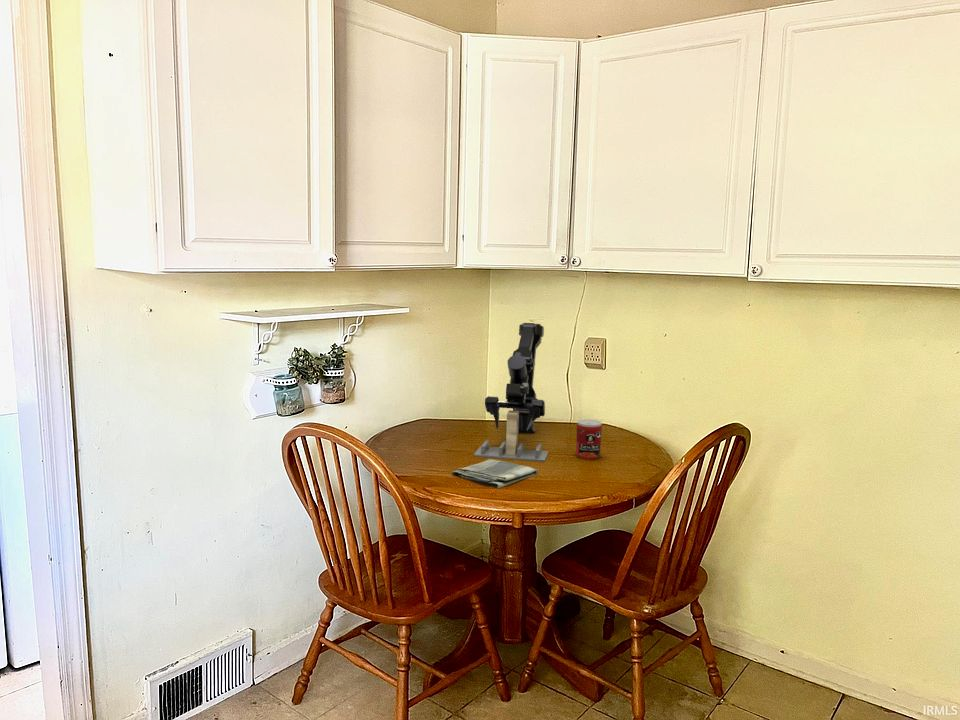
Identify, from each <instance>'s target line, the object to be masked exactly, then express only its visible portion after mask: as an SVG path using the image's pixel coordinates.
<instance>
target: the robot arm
mask: <svg viewBox="0 0 960 720" xmlns="http://www.w3.org/2000/svg"><path fill="white" fill-rule="evenodd" d="M518 327H519V328H518V336H519V337H520V338H519V343H518V347H517V349H515V350H513V353H512V355H511V356H510V357H509V358H508V359H507V369H508V374H509V377H510V379H509V383H506V386H505V387H506V388H505V400H506V401H500V400H499V396H490V395H489V396H486V397H485V400H484V405H485V406H484V407H485V411H486V412H487V413H489V414H490V415H492V416H493V419H494V421H495V428H496V430H497V429H498V428H499V425H500V424H499V423H500V412H499V411H500V409H501V408H502V409H512V411H519V419H518V433H521V434H522V433H529V434H530V433H533V434H534V433H535V434H536V430H535V428H534V422H535V421H536V420H537V419H539V418H541V417H544V416H545V415H546V404H545V400H543V399H538V398H537V393H536V391H535V389H534V387H533V386H534V378H535V377H534V376H535V366H536V356H537V355H536V354H537V349H538V347H539V346H540V345H541V343H542V338H543V337H544V333H545V329H544V326H543V325H541V323H534V322H523V323H520V324H519V326H518Z"/></svg>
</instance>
